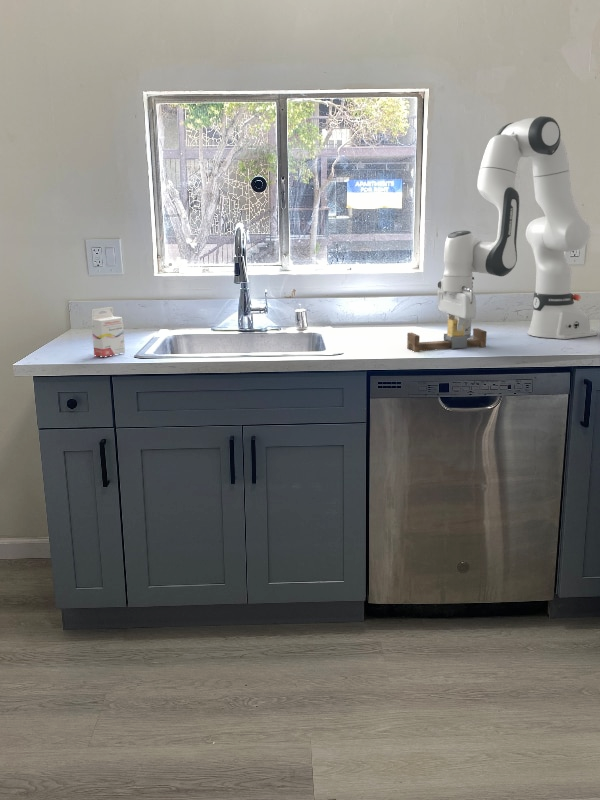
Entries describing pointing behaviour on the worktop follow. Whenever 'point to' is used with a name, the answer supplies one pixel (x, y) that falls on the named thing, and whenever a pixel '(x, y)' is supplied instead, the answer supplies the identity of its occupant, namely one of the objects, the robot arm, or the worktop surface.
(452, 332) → the slider
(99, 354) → the ink cartridge box
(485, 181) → the robot arm
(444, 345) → the rail
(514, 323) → the worktop surface
